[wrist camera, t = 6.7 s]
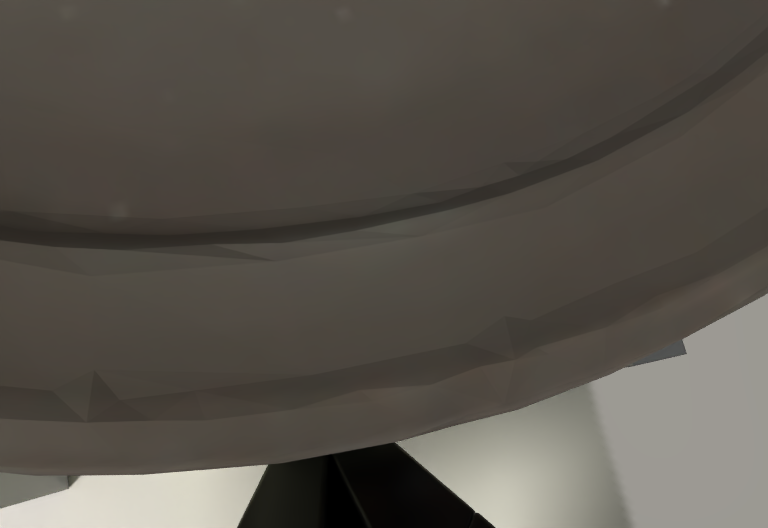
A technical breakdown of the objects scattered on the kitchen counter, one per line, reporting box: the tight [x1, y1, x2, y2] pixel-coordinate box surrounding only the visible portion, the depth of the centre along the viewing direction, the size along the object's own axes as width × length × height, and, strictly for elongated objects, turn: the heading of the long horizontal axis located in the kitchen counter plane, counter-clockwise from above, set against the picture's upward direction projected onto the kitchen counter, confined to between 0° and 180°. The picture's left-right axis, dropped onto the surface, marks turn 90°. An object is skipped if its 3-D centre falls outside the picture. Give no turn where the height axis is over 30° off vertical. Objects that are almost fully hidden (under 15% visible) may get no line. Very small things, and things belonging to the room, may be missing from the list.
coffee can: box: [0, 0, 768, 476], centre depth 10 cm, size 10×10×14 cm
